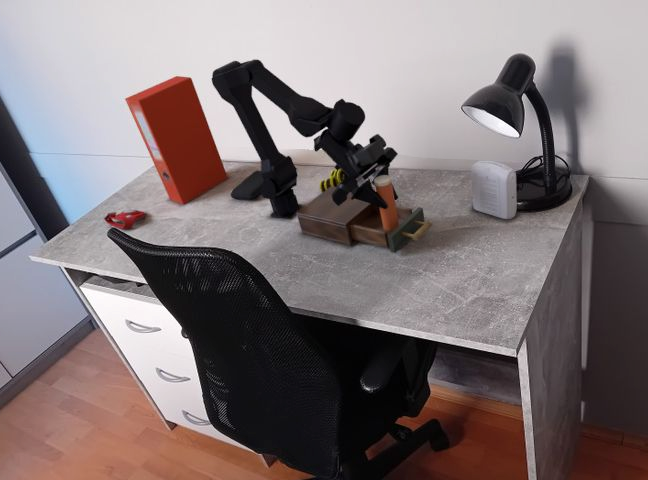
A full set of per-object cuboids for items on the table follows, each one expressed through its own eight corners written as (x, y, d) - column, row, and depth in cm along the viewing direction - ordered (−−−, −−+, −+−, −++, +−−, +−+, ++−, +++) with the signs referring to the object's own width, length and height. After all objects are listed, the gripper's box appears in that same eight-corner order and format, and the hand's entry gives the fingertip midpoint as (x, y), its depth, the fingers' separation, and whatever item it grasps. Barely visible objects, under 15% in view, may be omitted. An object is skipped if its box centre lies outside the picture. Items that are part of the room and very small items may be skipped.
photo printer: (520, 212, 122) (518, 162, 115) (509, 221, 120) (507, 171, 113) (482, 202, 129) (478, 154, 122) (471, 210, 127) (466, 162, 120)
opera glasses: (340, 181, 155) (333, 165, 153) (354, 179, 152) (348, 163, 150) (322, 198, 149) (315, 182, 147) (337, 196, 146) (330, 180, 144)
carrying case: (258, 203, 153) (286, 178, 163) (255, 194, 151) (283, 169, 161) (229, 201, 158) (258, 177, 168) (226, 192, 156) (255, 168, 166)
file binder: (228, 178, 172) (190, 77, 153) (184, 204, 163) (138, 100, 144) (213, 174, 177) (175, 76, 158) (170, 199, 168) (124, 98, 149)
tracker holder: (144, 206, 165) (143, 212, 156) (147, 220, 166) (145, 227, 157) (101, 211, 162) (97, 217, 153) (104, 225, 163) (100, 232, 154)
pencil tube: (380, 229, 123) (371, 182, 116) (387, 221, 125) (378, 174, 118) (395, 231, 121) (386, 183, 114) (401, 222, 123) (393, 175, 116)
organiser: (384, 216, 133) (380, 195, 129) (351, 246, 125) (345, 224, 122) (336, 206, 142) (331, 186, 139) (302, 233, 135) (296, 212, 131)
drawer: (440, 227, 122) (438, 210, 120) (410, 257, 116) (408, 240, 113) (374, 213, 134) (371, 198, 131) (344, 240, 127) (340, 224, 124)
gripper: (329, 149, 107) (384, 206, 107) (383, 111, 117) (433, 163, 117) (310, 179, 116) (360, 232, 116) (362, 142, 127) (408, 190, 127)
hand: (391, 203), depth 119 cm, fingers closed on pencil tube, 3 cm apart
